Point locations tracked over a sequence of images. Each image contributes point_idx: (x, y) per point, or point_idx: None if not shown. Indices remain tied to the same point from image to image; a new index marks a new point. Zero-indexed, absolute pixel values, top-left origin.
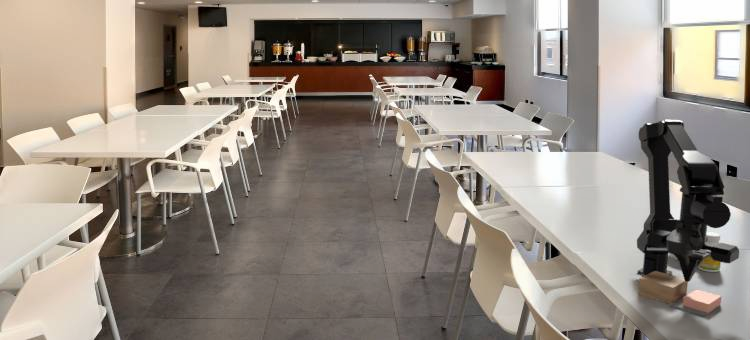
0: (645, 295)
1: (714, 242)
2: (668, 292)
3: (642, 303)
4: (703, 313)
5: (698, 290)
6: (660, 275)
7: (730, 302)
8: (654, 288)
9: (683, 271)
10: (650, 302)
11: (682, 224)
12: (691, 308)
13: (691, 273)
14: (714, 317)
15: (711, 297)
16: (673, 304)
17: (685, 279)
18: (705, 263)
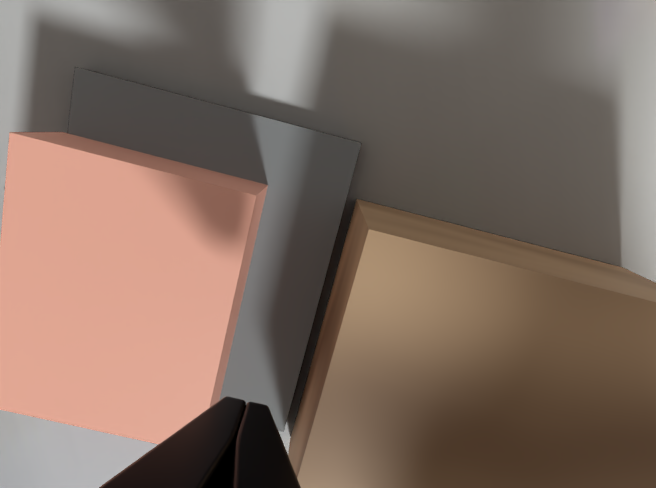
0: (568, 255)
1: None
2: (403, 225)
3: (574, 77)
4: (87, 93)
5: None
6: None
7: (11, 464)
8: (540, 261)
9: (275, 478)
10: (514, 142)
11: None
12: (194, 155)
13: (146, 455)
14: (13, 98)
15: (43, 329)
16: (337, 162)
17: (258, 411)
18: None
